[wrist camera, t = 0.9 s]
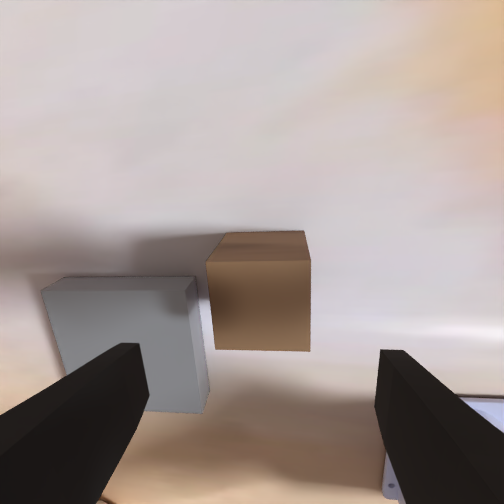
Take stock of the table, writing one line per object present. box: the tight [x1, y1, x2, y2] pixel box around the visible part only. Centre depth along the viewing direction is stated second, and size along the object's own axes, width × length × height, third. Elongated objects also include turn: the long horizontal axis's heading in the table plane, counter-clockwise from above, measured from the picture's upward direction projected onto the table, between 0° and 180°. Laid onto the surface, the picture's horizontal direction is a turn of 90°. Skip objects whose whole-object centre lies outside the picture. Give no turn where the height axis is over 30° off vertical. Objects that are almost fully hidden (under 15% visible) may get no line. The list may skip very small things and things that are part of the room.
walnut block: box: [206, 231, 311, 352], centre depth 16 cm, size 4×4×5 cm
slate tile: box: [41, 276, 210, 414], centre depth 20 cm, size 9×9×2 cm
